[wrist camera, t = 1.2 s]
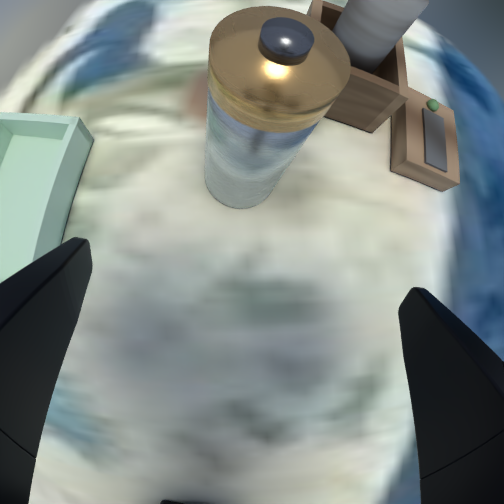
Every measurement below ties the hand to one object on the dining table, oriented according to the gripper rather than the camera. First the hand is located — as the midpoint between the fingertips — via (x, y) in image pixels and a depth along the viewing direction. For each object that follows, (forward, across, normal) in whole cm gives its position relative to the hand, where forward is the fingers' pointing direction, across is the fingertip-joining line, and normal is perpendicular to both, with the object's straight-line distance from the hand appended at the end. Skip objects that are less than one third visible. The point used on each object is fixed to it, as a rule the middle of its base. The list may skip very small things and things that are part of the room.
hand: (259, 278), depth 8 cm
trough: (+12, +16, +7) cm, 22 cm away
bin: (+23, -7, -4) cm, 24 cm away
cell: (+15, 0, +4) cm, 16 cm away
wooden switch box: (+20, -15, -1) cm, 25 cm away
